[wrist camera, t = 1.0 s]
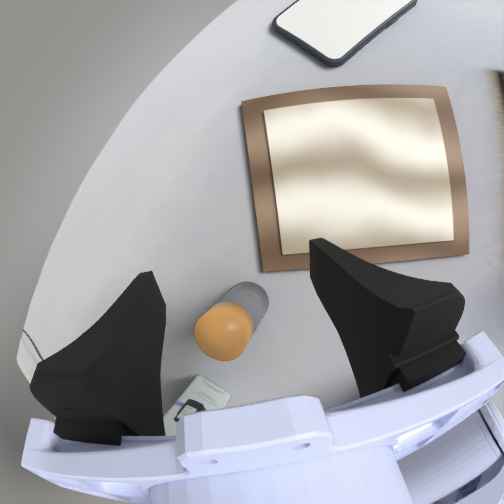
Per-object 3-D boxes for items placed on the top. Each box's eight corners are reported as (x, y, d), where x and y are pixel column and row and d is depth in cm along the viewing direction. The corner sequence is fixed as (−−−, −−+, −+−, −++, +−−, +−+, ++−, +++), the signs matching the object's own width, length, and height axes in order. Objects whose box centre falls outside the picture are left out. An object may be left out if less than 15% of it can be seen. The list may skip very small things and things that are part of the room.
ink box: (207, 427, 33) (169, 488, 21) (177, 409, 33) (132, 465, 22) (233, 394, 30) (192, 465, 19) (197, 372, 31) (146, 436, 20)
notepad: (466, 252, 21) (470, 254, 20) (264, 270, 26) (262, 272, 25) (443, 88, 18) (446, 85, 18) (243, 103, 24) (240, 100, 23)
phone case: (336, 75, 22) (420, 4, 16) (335, 68, 20) (422, -3, 15) (269, 30, 22) (357, -34, 17) (265, 22, 21) (357, -42, 15)
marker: (270, 319, 27) (248, 362, 20) (232, 320, 28) (199, 359, 21) (266, 280, 27) (240, 312, 19) (226, 282, 28) (189, 312, 20)
